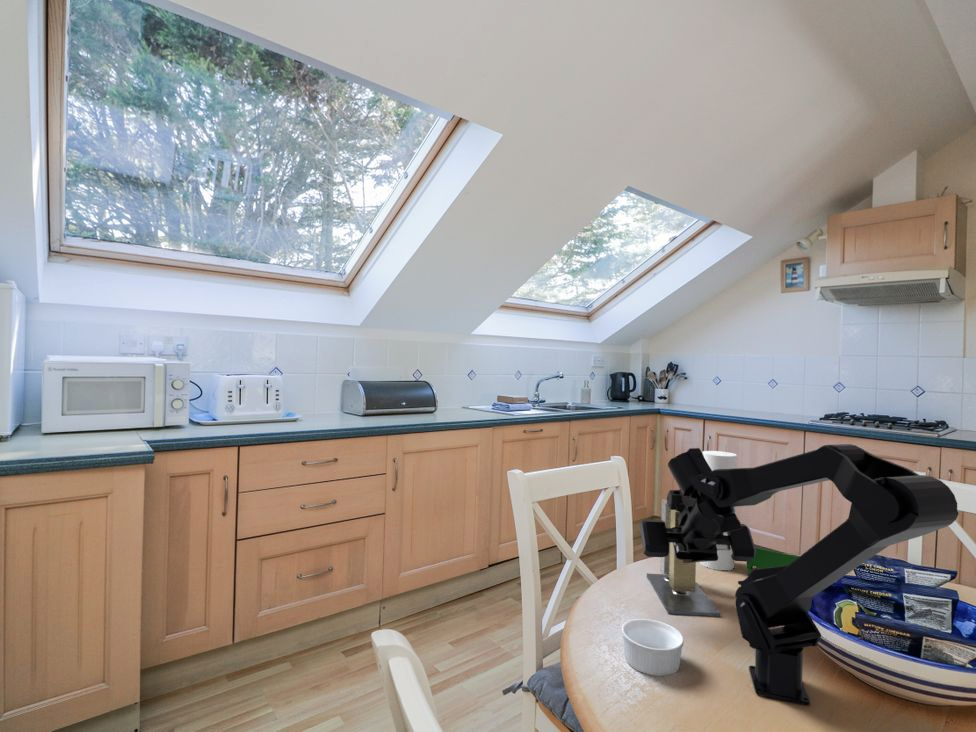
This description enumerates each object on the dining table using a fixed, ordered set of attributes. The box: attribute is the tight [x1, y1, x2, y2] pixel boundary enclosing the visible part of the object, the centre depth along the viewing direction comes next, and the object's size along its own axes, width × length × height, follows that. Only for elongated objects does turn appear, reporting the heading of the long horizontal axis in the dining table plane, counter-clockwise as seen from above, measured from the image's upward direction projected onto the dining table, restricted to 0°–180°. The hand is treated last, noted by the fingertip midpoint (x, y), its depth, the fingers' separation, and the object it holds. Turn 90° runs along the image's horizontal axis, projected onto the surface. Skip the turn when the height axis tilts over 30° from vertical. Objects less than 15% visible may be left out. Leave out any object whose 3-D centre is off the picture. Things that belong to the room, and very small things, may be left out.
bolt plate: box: [646, 498, 721, 618], centre depth 100 cm, size 16×9×17 cm, turn 176°
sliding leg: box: [669, 510, 697, 593], centre depth 99 cm, size 3×4×16 cm
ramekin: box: [621, 618, 685, 677], centre depth 77 cm, size 9×9×4 cm
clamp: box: [746, 546, 801, 574], centre depth 111 cm, size 12×6×9 cm, turn 47°
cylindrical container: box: [699, 450, 738, 571], centre depth 117 cm, size 7×7×25 cm
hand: (684, 560), depth 98 cm, fingers closed, pressing on sliding leg
